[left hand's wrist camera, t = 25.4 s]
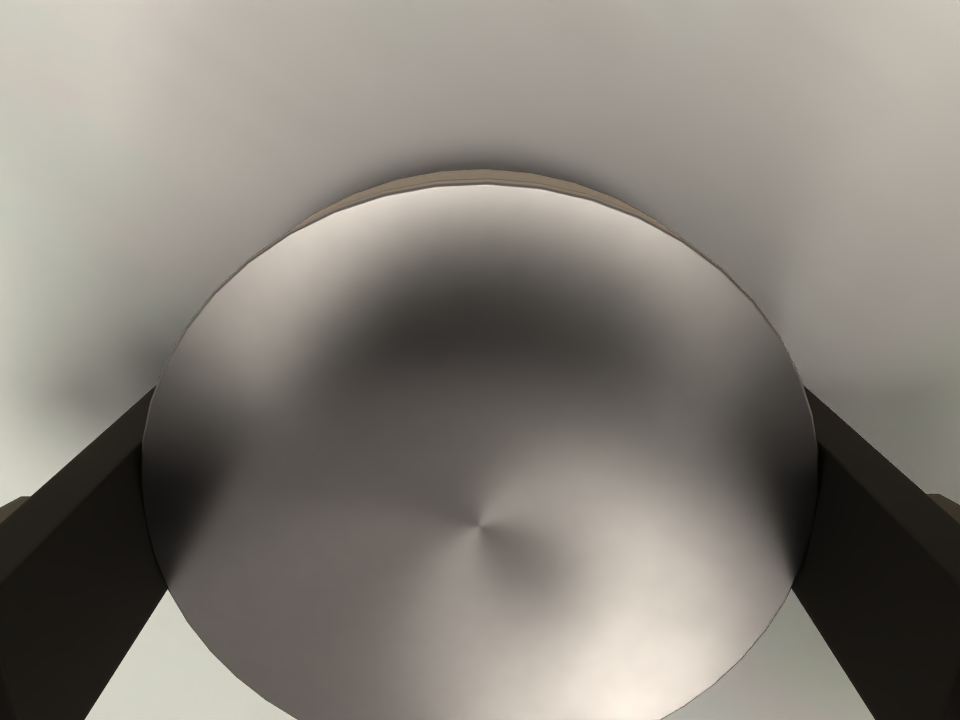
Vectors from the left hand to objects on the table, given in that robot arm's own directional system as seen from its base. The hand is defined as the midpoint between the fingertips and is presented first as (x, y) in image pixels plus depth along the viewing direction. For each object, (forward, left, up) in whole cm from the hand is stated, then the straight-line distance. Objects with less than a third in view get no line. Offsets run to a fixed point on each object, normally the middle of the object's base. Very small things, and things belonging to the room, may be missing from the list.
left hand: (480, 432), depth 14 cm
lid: (0, 0, +3) cm, 3 cm away
